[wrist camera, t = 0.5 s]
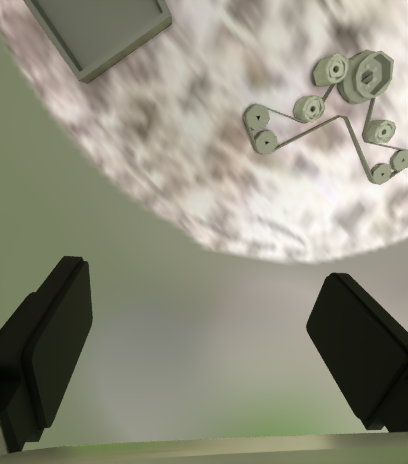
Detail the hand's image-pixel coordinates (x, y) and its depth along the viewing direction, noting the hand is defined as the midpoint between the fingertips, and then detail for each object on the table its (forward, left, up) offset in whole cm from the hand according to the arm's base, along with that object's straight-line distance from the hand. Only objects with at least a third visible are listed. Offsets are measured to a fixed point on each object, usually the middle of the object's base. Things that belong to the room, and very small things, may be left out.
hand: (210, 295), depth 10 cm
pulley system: (-22, +6, -30) cm, 38 cm away
